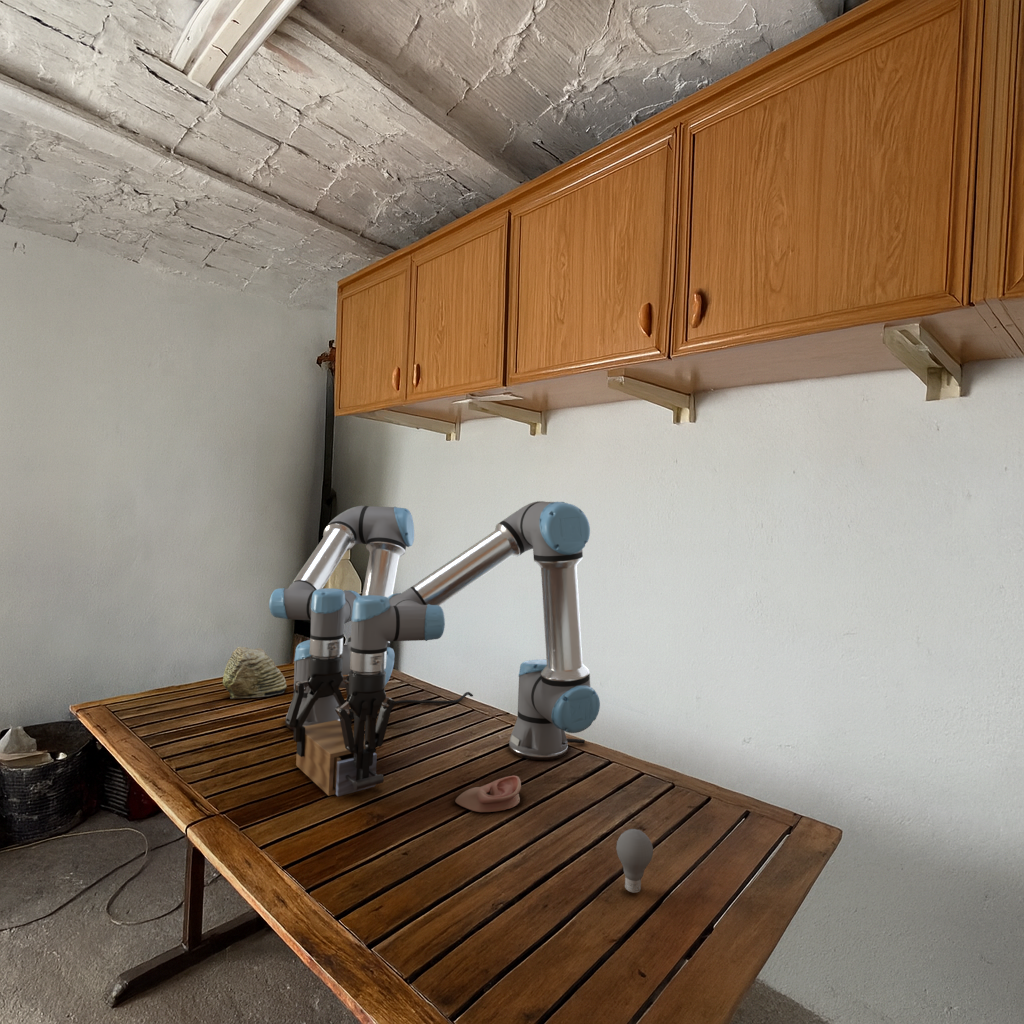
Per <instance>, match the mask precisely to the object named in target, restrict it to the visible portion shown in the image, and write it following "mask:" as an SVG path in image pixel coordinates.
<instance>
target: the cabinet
mask: <svg viewBox="0 0 1024 1024" xmlns="http://www.w3.org/2000/svg"><path fill="white" fill-rule="evenodd" d="M304 727H305V750H304V756H303V757H301V756H299V755H298V754H297V753H296V756H295V757H296V758H295V759H296V761H295V762H296V763H295V766H296V767H297V768H298V769H299V770H300V771H301V772H303V774H305V776H306V777H308V778H309V779H310V780H311V781H312V782H313V783H314V784H315V785H316V786H317V787H318V788H319V789H320V790H322V792H324V793H325V795H327V797H330V796H333V795H336V788H335V787H334V786H333V774H334V757H338V756H342V755H347V754H351V752H349V751H348V750H347V749H346V748H345V744H344V739H343V733H342V728H341V723H340V721H338V720H334V721H329V722H324V723H319V724H314V725H309V726H304ZM352 732H353V737H354V729H352ZM364 742H365V738H364ZM364 749H365V747H364Z"/></svg>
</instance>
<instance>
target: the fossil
mask: <svg viewBox="0 0 1024 1024" xmlns="http://www.w3.org/2000/svg"><path fill="white" fill-rule="evenodd" d="M222 676H223V677H222V685H223V687H224V688H225V690H226V691H228V693H229V698H230V699H250V698H264V697H271V696H275V695H281V694H284V693H285V691H286V689H287V687H288V686H287V680H286V678H285V676H284V674H283V673H282V672H281V669H279V668H278V667H277V665H276V663H275V662H274V660H273V659H272V658H271V657H270V656H269V655H268V654H267V653H266V652H265V650H264V649H263V648H260V647H258V648H251V647H247V646H246V647H245V646H238V647H237V648H236V649H235V650H233V651H232V653H231V656H230V657H229V659H228V660H227V663H226V666H225V668H224V671H223V675H222Z"/></svg>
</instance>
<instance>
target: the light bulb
mask: <svg viewBox="0 0 1024 1024" xmlns="http://www.w3.org/2000/svg"><path fill="white" fill-rule="evenodd" d="M615 849H616V854H617V857H618V859H619V861H620V863H621V865H622V867H623V873H624V874H623V875H624V876H625V878H624V888H625V890H627V891H628V892H630V893H634V894H635V893H639V892H640V891H641V889H642V887H641V886H642V879H643V877H644V875H645V871H646V868H647V867H648V866H649V864H650V863H651V861H652V859H653V855H654V847H653V843H652V841H651V838H649V836H648V835H647V834H646V833H645V832H643V831H642V830H641V829H636V828H629V829H627V830H625V831H623V832H622V833H621V834H620V835H619V837H618V839H617V841H616V847H615Z"/></svg>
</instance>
